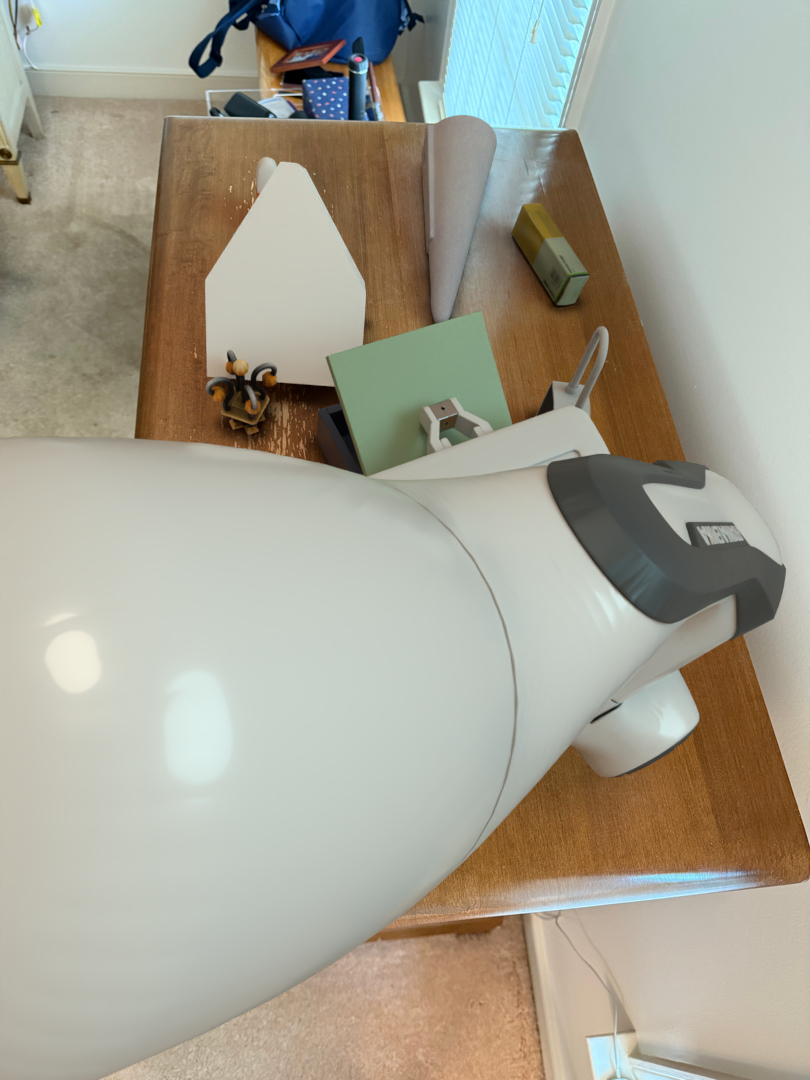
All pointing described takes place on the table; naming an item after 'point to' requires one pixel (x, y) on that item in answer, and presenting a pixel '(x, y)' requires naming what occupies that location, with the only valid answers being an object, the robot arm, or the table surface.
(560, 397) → the padlock
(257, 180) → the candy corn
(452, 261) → the grey tapered piece
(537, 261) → the medication box
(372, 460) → the cover
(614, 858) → the table surface
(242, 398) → the black and orange candelabra
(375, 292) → the table surface
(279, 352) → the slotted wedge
